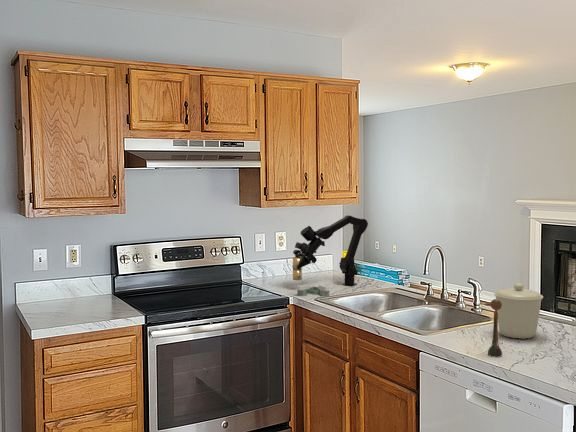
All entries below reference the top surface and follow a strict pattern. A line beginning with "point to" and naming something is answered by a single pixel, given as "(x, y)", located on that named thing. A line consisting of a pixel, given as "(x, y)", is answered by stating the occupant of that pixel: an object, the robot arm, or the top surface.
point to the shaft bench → (312, 290)
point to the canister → (518, 311)
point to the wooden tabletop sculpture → (495, 329)
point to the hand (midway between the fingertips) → (295, 267)
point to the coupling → (297, 272)
